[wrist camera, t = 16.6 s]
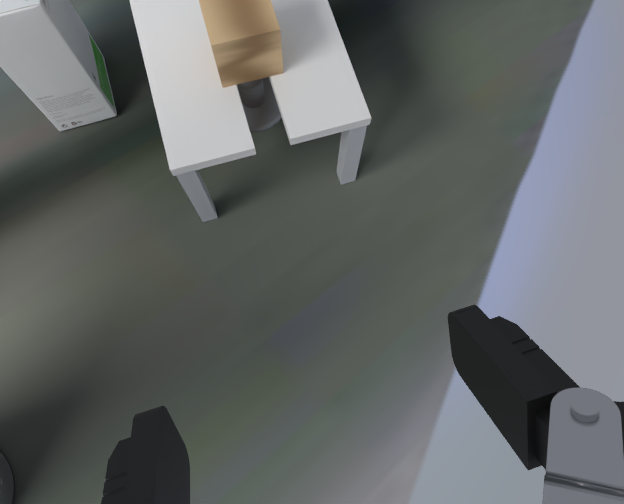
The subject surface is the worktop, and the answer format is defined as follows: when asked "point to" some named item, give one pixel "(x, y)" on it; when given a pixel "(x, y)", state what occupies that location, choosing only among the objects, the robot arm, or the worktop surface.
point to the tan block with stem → (247, 54)
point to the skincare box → (55, 61)
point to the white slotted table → (226, 101)
